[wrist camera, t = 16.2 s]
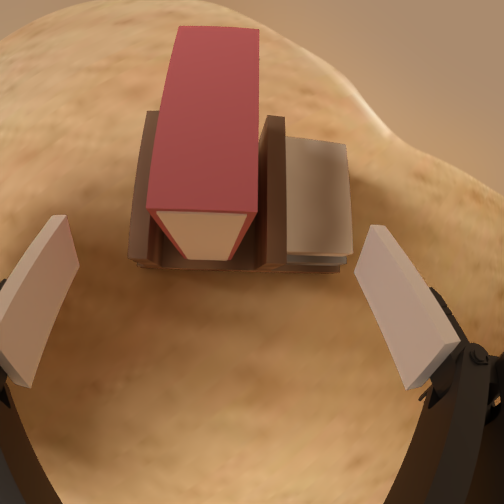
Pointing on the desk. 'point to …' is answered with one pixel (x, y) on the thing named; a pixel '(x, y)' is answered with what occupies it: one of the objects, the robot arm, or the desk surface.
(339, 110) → the desk surface
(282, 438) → the desk surface
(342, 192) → the book stand
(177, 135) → the book
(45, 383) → the desk surface
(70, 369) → the desk surface
